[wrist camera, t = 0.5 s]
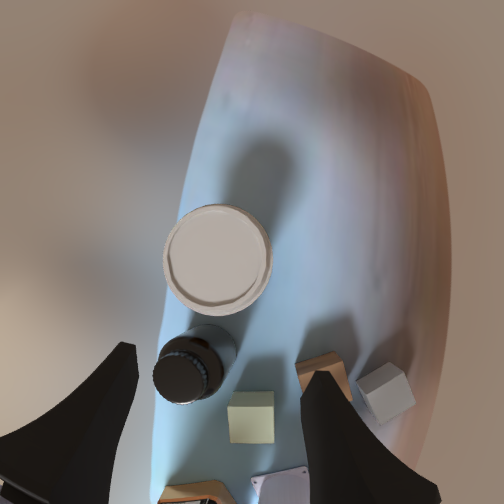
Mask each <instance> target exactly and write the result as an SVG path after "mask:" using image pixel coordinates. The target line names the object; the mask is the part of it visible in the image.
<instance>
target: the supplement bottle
mask: <svg viewBox="0 0 504 504" xmlns="http://www.w3.org/2000/svg"><path fill="white" fill-rule="evenodd" d="M235 359H236V347H235V343H234V341H233V339H232V338H231V336H230V335H229V334H228V333H227V332H226V331H225V330H224V329H222V328H220V327H218V326H215V325H210V324H204V325H199V326H196V327H194V328H192V329H190V330H188V331H186V332H184V333H182V334H180V335H179V336H177V337H175V338H173V339H171V340H170V341H169V342H167V343H166V344H165V345H164V347H163V348H162V350H161V352H160V354H159V357H158V362H157V363H156V365H155V366H154V370H153V381H154V385H155V387H156V389H157V391H159V393H160V395H162V396H163V398H165V399H167V400H168V401H170V402H172V403H176V404H181V405H184V404H189V403H193V402H194V401H197V400H202V399H206V398H208V397H210V396H212V395H213V394H215V393H216V392H217V391H218V389H219V388H220V387H221V385H222V384H223V382H224V380H225V379H226V377H227V375H228V373H229V372H230V370H231V368H232V366H233V364H234V362H235Z"/></svg>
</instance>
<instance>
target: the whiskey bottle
mask: <svg viewBox="0 0 504 504" xmlns="http://www.w3.org/2000/svg"><path fill="white" fill-rule="evenodd" d="M157 504H237V503H236V502H235V500H234V499H233V497H232V496H231V494H230V493H229V491H228V490H227V488H226V487H225V485H224V484H223V483H222V482H219V481H217V480H211V481H205V482H198V483H191V484H183V485H173V486H166V487H165V489H164V491H163V493H162V495H161V497H160V499H159V501H158V503H157Z"/></svg>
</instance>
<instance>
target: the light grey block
mask: <svg viewBox="0 0 504 504" xmlns="http://www.w3.org/2000/svg"><path fill="white" fill-rule="evenodd" d="M356 384H357V386H358V388H359V390H360V392H361V394H362V396H363V399H364V401H365V403H366V405H367V407H368V409H369V411H370V412H371V414H372V415H373V417H374V418H375V419H376V421H377V422H378V424H379V425H380V426H381V425H383V424H384V423H386V422H388V421H389V420H391V419H393V418H394V417H396V416H398V415H399V414H401V413H402V412H404V411H405V410H407V409H409V408H410V407H412V406H413V405H415V404H416V402H415V399H414V396H413V394H412V391H411V388H410V386H409V383H408V381H407V378H406V376H405V373H404V371H402V370H401V369H399V368H398V367H396V366H395V365H393V364H392V363H391V362H388V363H386V364H384V365H383V366H381V367H379V368H378V369H376V370H374V371H373V372H371V373H369V374H368V375H366V376H364V377H363V378H361V379H359V380H357V381H356Z"/></svg>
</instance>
